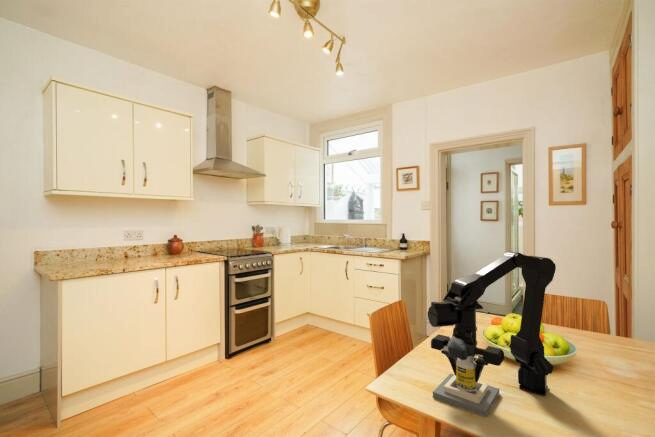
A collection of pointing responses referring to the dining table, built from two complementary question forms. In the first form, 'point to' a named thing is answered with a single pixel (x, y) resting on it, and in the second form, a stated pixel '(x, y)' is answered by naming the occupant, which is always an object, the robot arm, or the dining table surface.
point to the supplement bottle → (466, 374)
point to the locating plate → (467, 396)
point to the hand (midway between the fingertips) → (466, 378)
